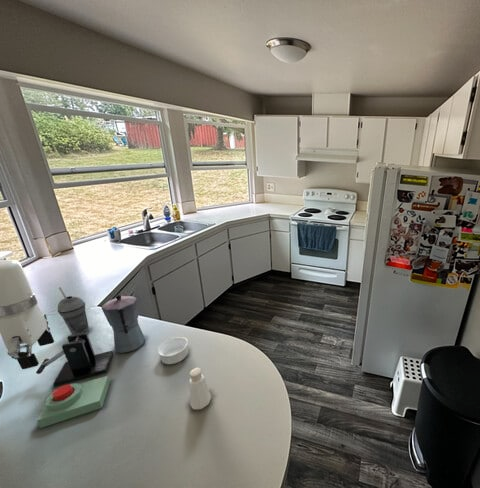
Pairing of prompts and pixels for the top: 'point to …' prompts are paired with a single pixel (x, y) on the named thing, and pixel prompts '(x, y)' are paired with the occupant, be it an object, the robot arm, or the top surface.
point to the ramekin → (173, 350)
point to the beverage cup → (73, 313)
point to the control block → (75, 402)
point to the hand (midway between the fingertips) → (39, 354)
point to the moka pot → (124, 323)
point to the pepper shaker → (198, 390)
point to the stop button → (62, 392)
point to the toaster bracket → (81, 361)
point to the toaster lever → (55, 357)
